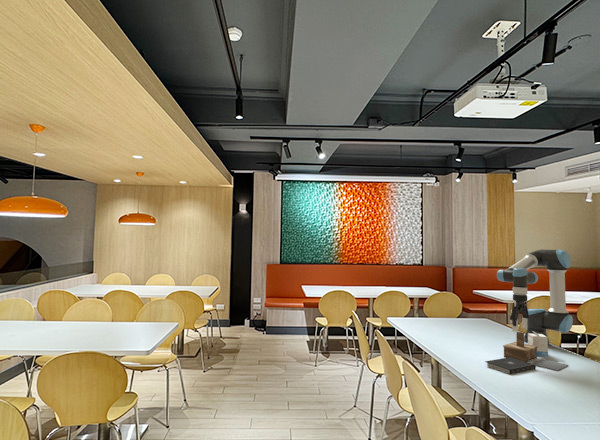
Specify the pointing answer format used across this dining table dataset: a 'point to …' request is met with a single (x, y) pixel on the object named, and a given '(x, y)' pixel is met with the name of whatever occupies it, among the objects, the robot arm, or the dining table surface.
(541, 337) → the ink box
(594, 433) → the dining table surface
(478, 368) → the dining table surface
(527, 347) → the lid
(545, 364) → the mat
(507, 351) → the crate
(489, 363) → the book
